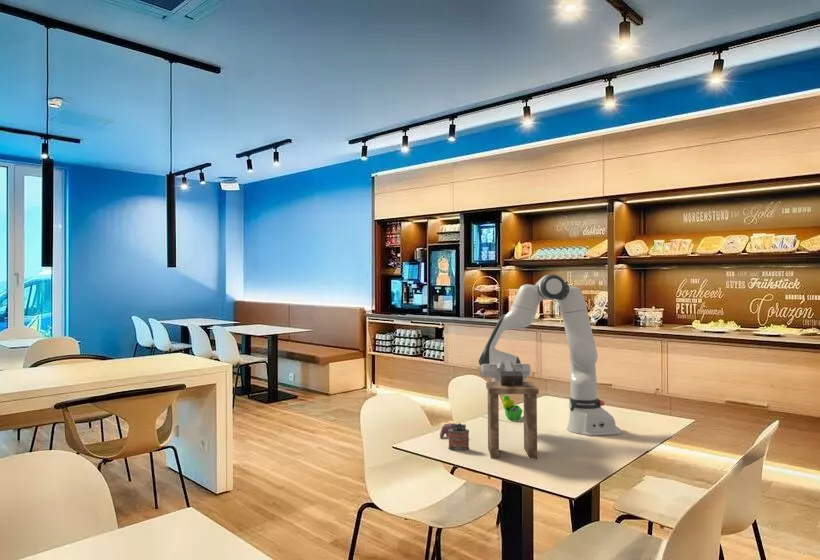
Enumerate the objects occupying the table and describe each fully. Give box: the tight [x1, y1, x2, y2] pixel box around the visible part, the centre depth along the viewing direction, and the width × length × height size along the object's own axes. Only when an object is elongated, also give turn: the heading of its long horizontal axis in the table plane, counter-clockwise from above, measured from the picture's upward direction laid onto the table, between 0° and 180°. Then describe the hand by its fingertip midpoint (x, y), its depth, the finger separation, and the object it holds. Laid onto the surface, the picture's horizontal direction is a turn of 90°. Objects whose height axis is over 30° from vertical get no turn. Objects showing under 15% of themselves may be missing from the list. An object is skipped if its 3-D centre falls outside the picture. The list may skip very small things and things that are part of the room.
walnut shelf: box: [485, 381, 539, 460], centre depth 206 cm, size 18×14×26 cm
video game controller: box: [439, 422, 457, 439], centre depth 229 cm, size 10×5×7 cm, turn 72°
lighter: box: [448, 422, 470, 451], centre depth 212 cm, size 8×3×10 cm, turn 84°
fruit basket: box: [502, 394, 524, 421], centre depth 261 cm, size 11×9×11 cm
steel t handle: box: [500, 359, 523, 386], centre depth 214 cm, size 8×18×4 cm, turn 177°
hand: (507, 363), depth 219 cm, fingers closed on steel t handle, 2 cm apart
